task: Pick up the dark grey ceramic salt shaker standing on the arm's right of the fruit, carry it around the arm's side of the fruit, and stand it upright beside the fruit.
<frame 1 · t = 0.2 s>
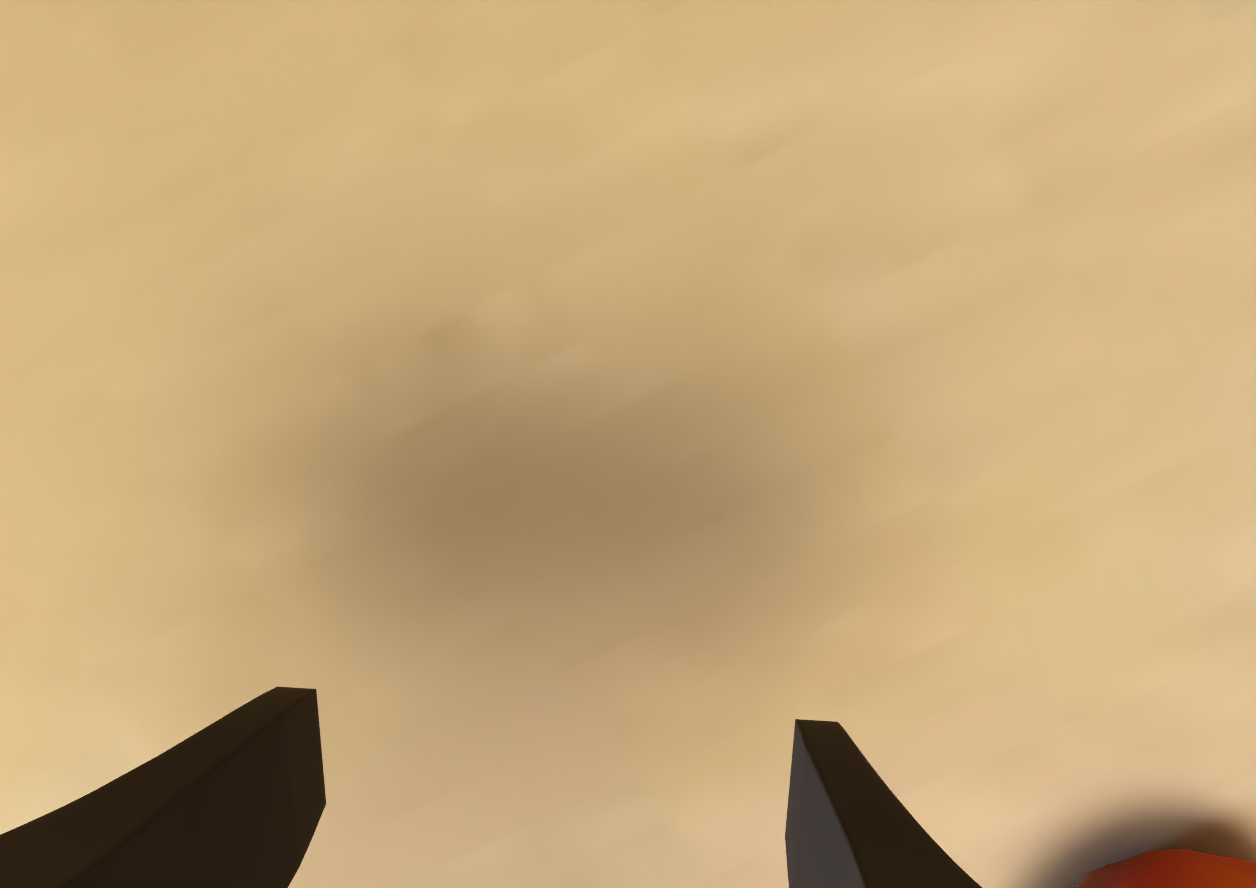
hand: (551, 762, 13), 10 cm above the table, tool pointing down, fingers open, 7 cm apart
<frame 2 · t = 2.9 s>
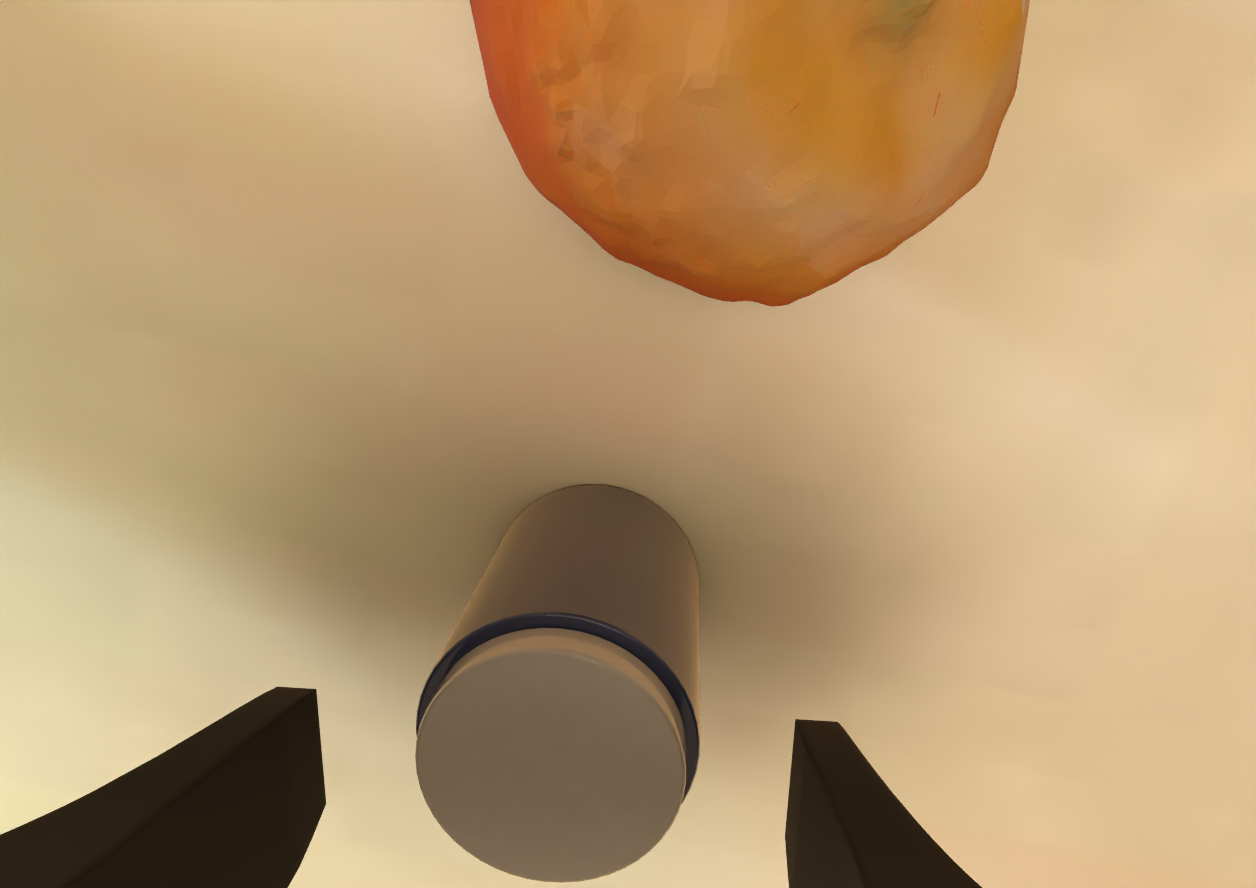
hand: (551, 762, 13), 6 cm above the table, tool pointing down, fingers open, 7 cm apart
salt shaker: (596, 580, 19), on the table
fruit: (741, 42, 16), on the table
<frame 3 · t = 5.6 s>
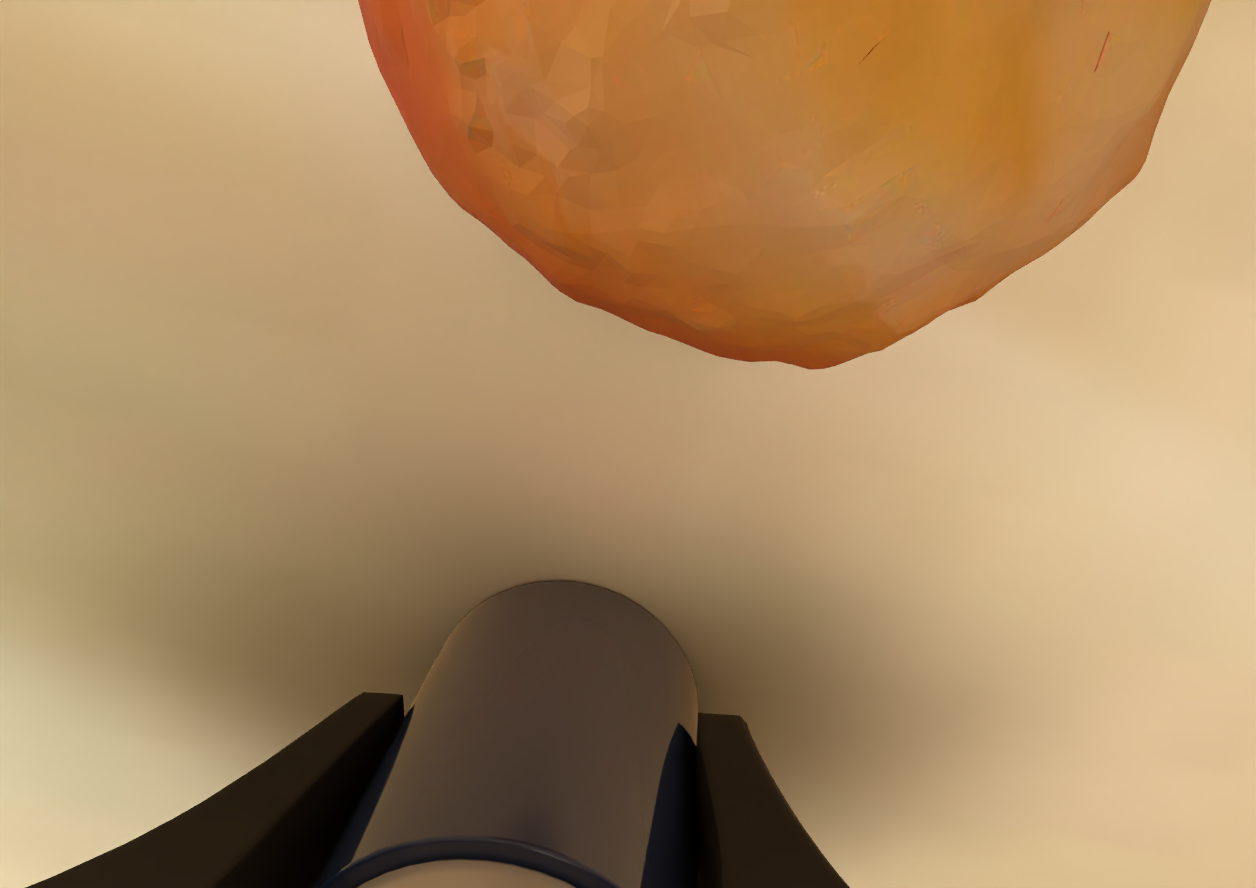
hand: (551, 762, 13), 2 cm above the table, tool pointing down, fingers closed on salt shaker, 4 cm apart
salt shaker: (564, 701, 15), on the table, touching gripper
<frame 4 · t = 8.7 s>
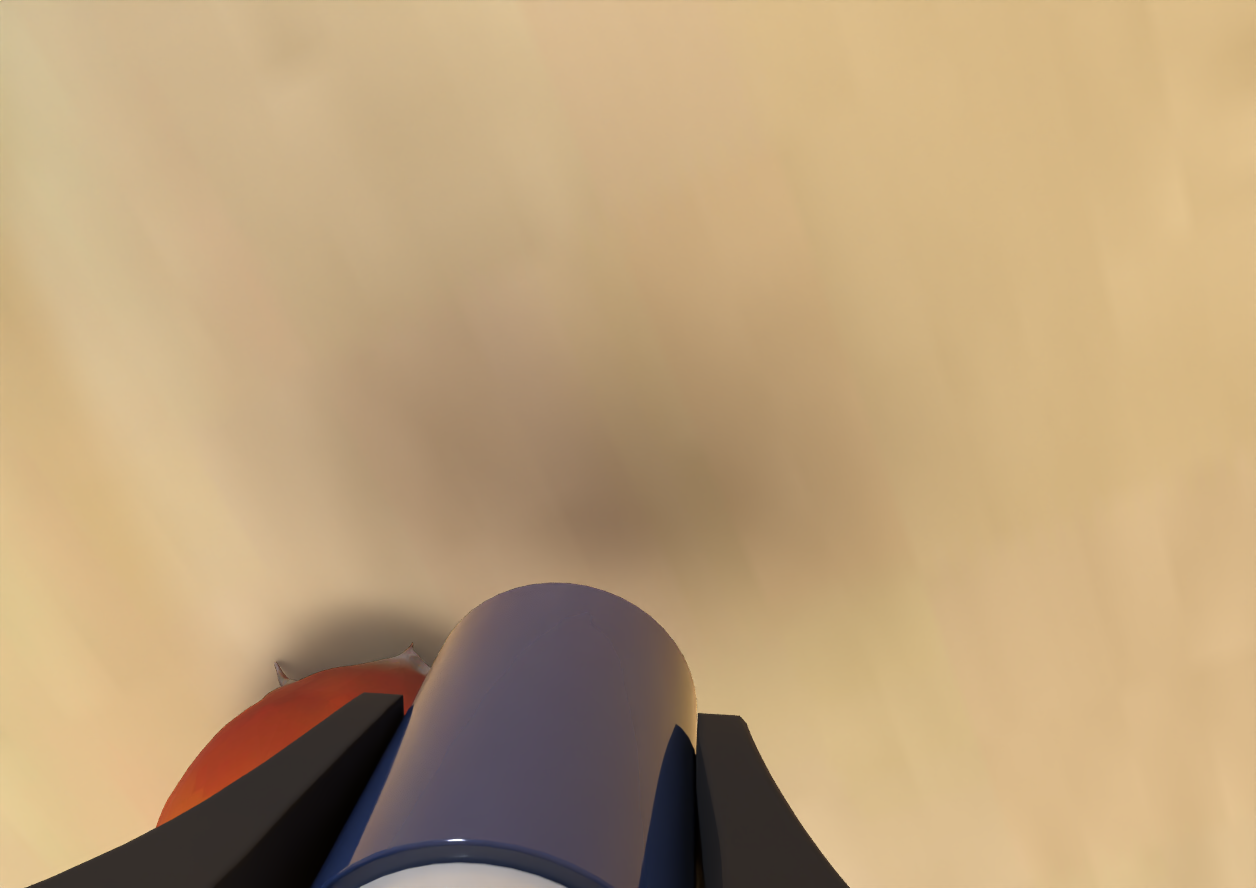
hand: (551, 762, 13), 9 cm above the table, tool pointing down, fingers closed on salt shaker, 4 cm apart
salt shaker: (563, 703, 15), point 7 cm above the table, touching gripper
fruit: (395, 746, 24), on the table
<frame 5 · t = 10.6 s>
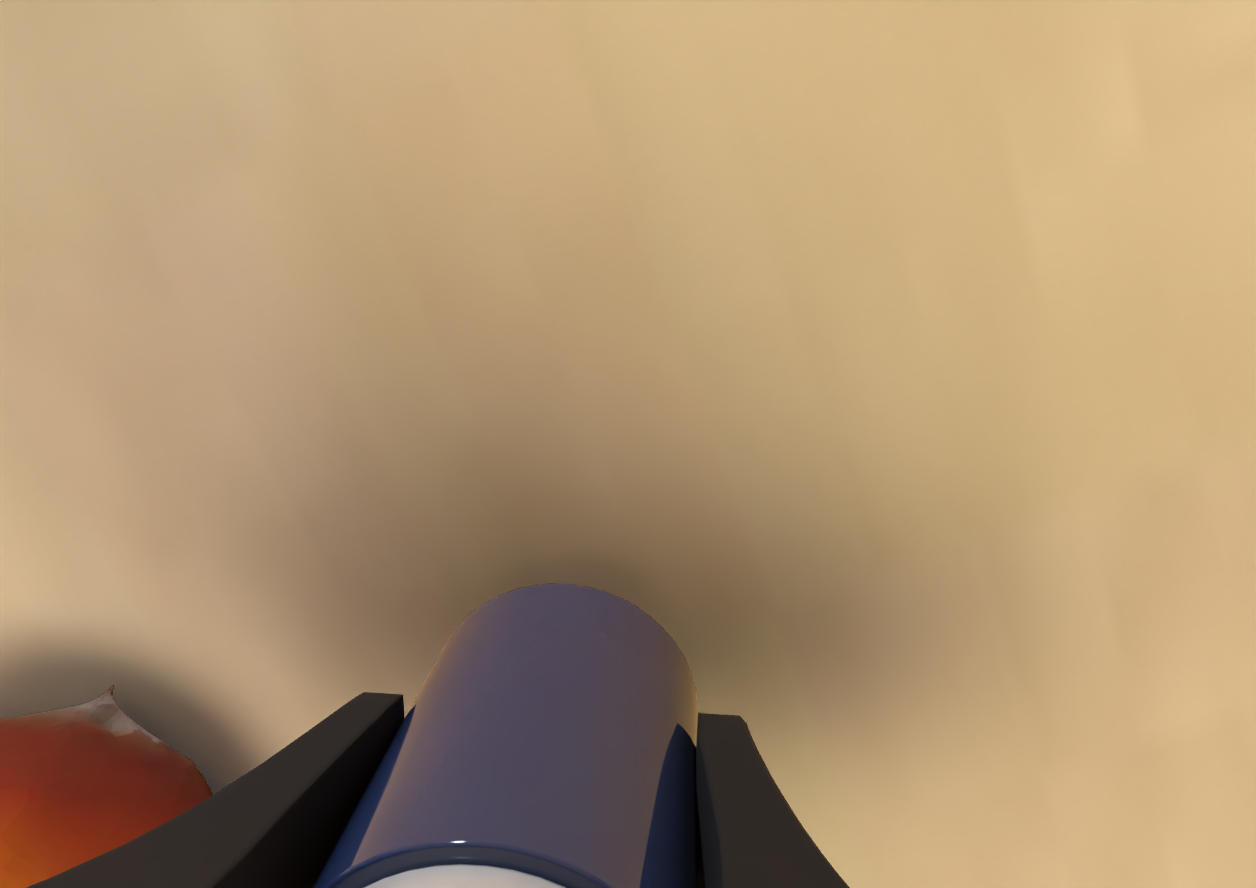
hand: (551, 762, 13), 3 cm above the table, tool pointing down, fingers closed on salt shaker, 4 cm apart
salt shaker: (564, 704, 15), point 2 cm above the table, touching gripper
fruit: (109, 815, 19), on the table
when the fingers open (1 cm above the table, at t = 11.8 s): salt shaker stays where it is, on the table.
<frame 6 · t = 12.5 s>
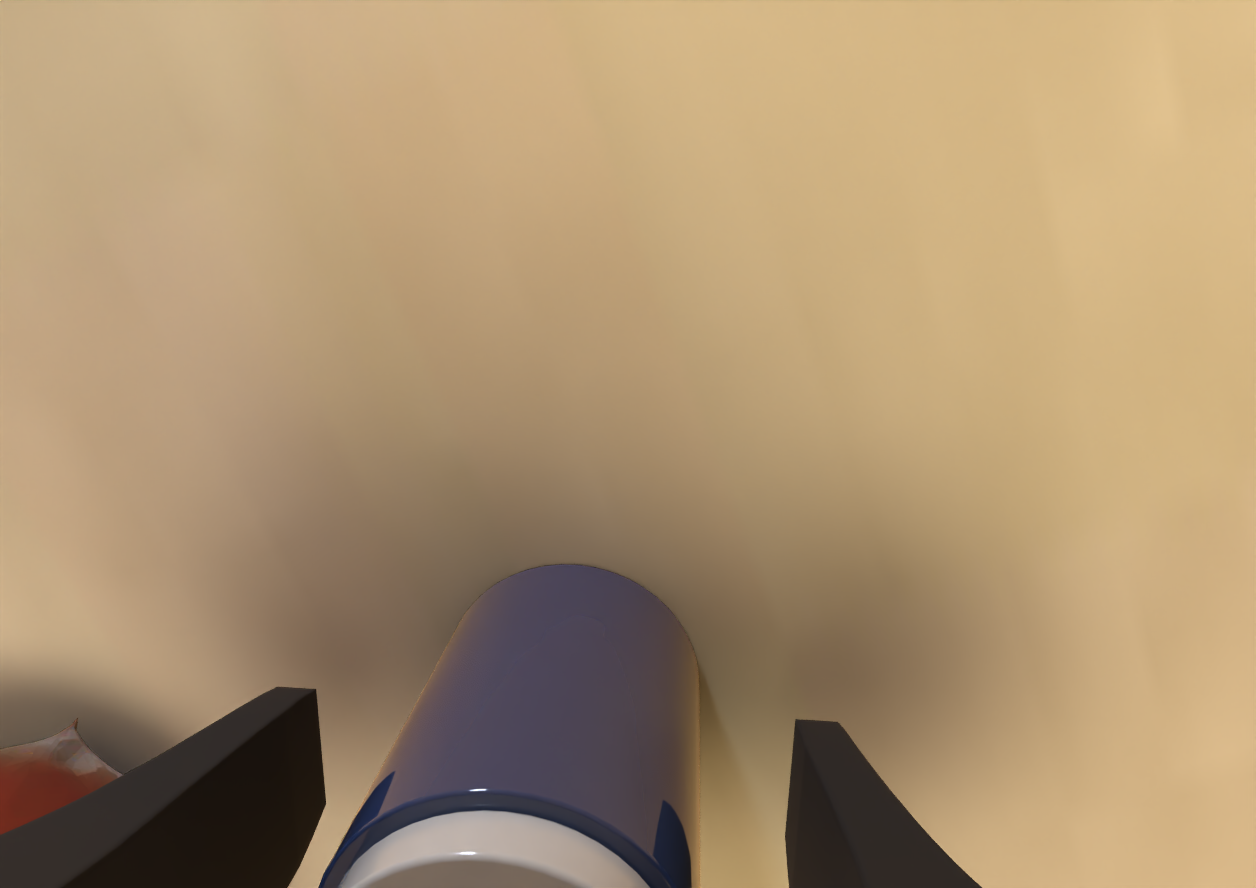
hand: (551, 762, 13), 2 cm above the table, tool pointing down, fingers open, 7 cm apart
salt shaker: (572, 679, 15), on the table
fruit: (76, 854, 18), on the table
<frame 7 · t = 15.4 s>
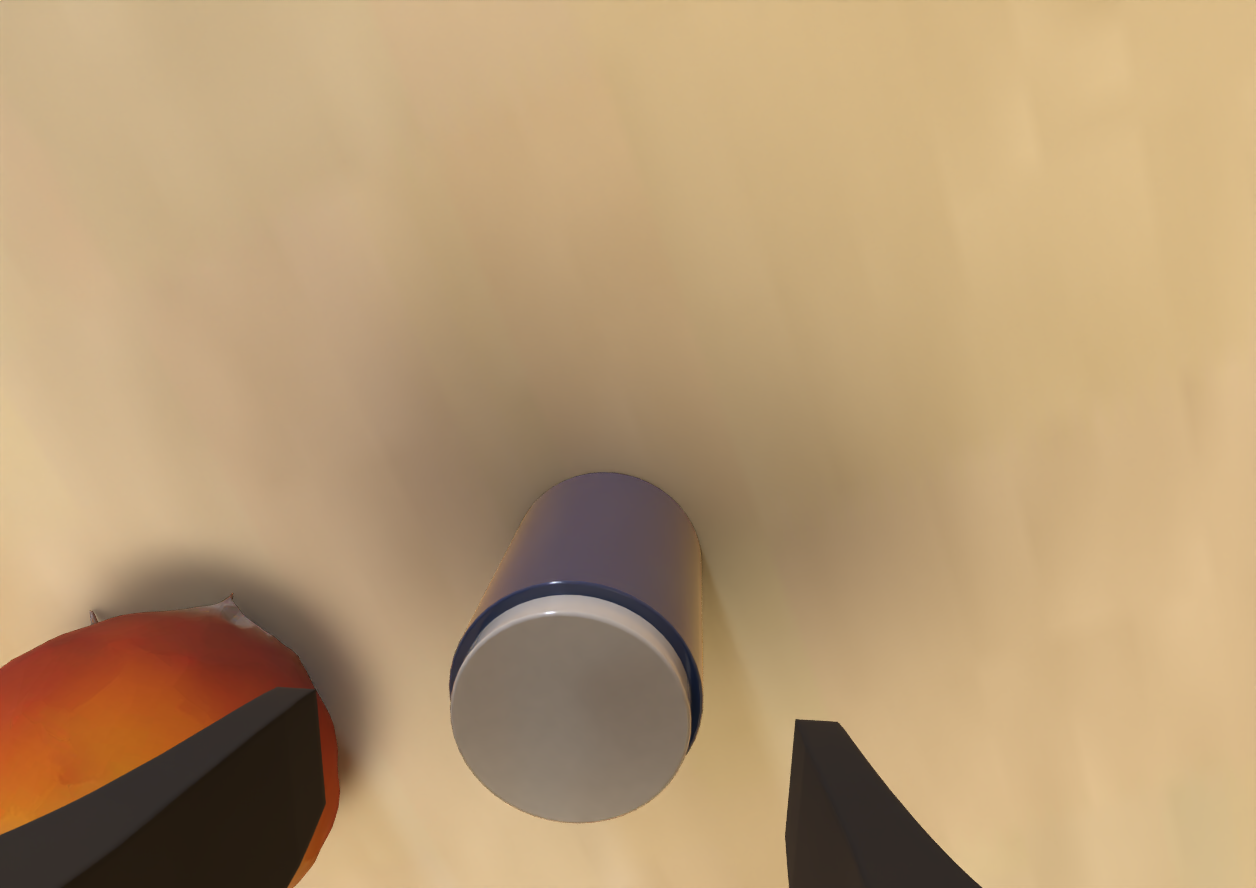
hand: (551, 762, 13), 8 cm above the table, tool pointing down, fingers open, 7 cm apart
salt shaker: (607, 561, 21), on the table
fruit: (221, 704, 23), on the table
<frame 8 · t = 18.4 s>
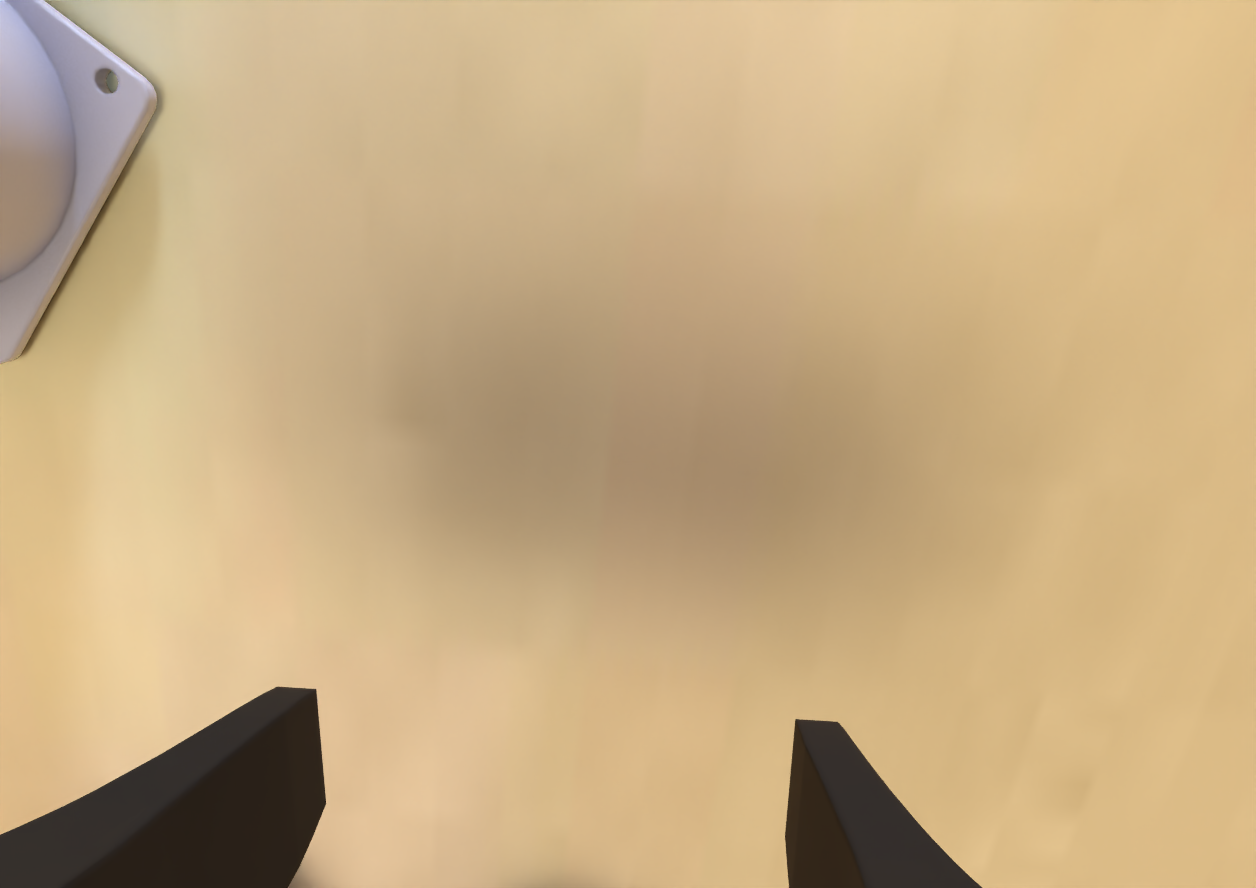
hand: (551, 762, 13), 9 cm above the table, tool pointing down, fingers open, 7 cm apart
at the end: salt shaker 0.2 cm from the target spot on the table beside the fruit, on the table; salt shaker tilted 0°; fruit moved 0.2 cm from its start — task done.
